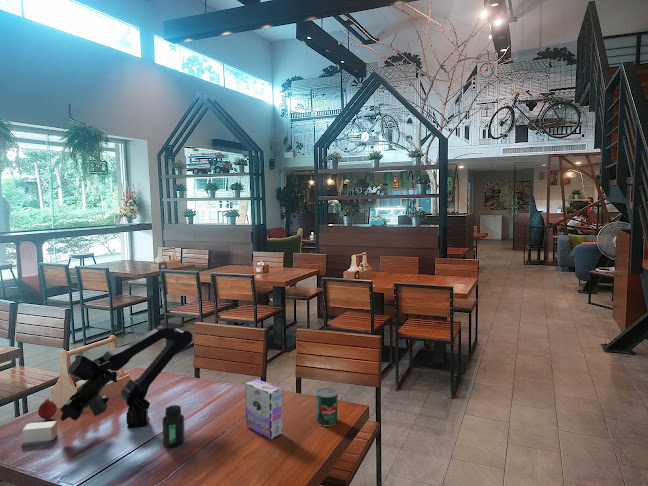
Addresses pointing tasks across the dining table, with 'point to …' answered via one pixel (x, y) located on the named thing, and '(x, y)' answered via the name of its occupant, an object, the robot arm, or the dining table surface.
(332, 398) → the canned tomato
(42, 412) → the onion
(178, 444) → the supplement bottle
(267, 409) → the candy box
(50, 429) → the block
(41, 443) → the mat
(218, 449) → the dining table surface
